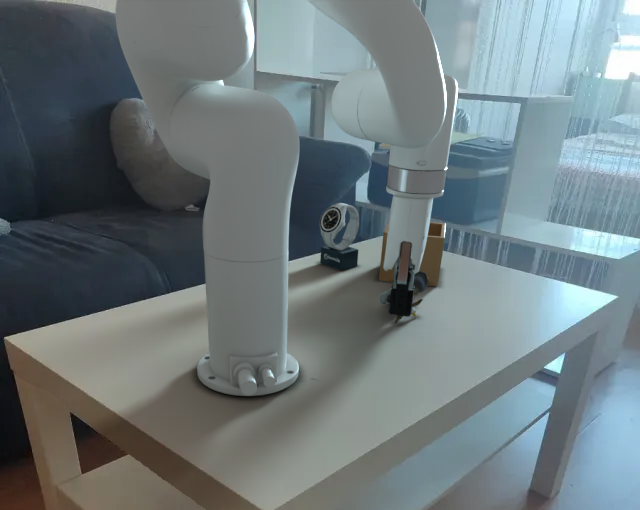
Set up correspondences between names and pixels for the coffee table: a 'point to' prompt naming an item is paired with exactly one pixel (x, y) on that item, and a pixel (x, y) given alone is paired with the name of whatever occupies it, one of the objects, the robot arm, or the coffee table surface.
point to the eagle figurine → (420, 286)
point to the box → (430, 256)
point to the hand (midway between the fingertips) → (399, 313)
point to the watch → (340, 252)
